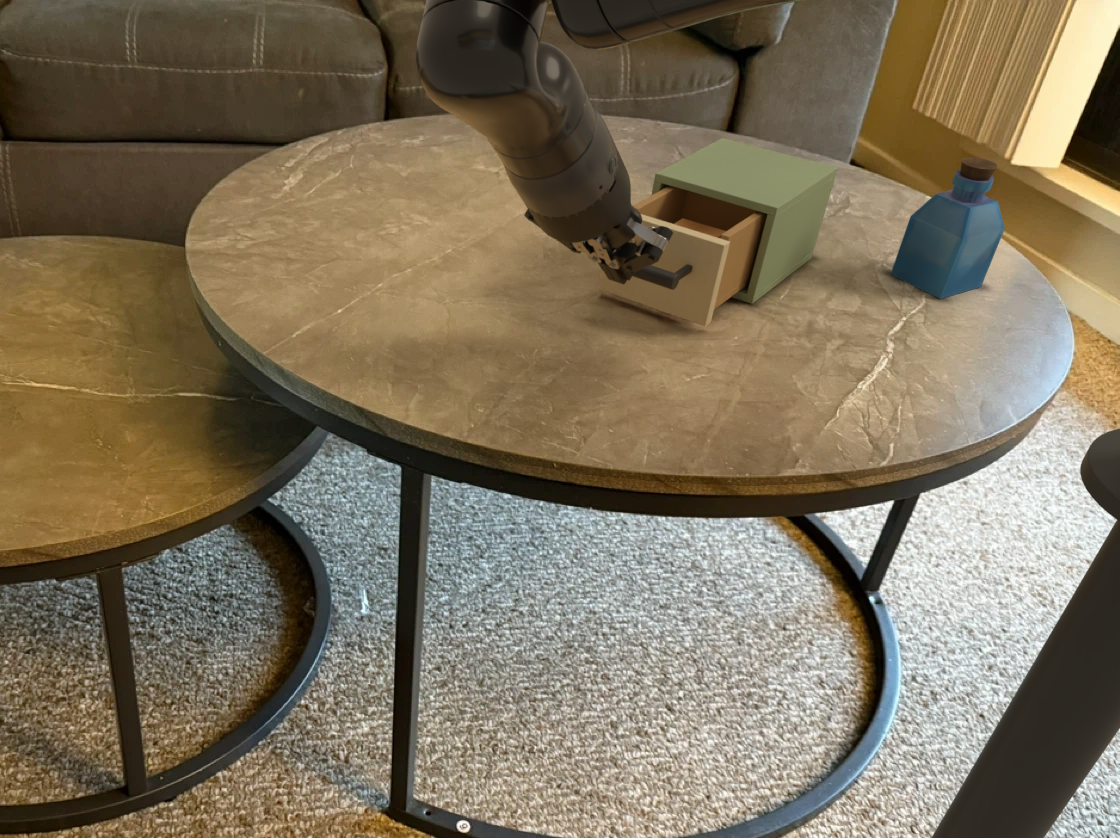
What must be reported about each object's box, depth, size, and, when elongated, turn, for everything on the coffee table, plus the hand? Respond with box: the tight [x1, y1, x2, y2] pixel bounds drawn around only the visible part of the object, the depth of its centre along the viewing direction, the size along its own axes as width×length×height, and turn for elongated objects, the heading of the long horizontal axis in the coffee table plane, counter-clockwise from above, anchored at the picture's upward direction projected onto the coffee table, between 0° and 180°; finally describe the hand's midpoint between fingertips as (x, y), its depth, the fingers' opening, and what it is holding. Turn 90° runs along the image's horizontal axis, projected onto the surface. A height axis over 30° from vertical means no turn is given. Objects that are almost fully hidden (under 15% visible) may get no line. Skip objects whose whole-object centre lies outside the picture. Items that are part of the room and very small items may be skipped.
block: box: [674, 218, 726, 238], centre depth 101 cm, size 5×5×5 cm
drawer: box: [597, 186, 768, 327], centre depth 100 cm, size 18×11×8 cm, turn 141°
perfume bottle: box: [890, 157, 1006, 300], centre depth 104 cm, size 6×6×12 cm
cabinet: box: [651, 137, 839, 305], centre depth 107 cm, size 15×13×10 cm
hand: (622, 272), depth 91 cm, fingers closed
